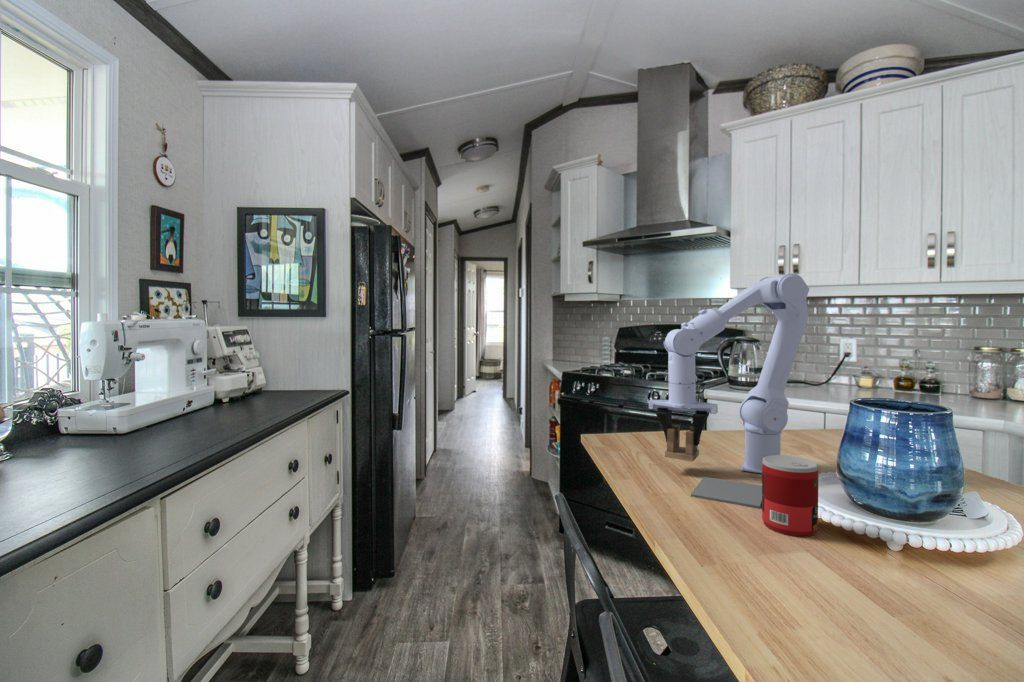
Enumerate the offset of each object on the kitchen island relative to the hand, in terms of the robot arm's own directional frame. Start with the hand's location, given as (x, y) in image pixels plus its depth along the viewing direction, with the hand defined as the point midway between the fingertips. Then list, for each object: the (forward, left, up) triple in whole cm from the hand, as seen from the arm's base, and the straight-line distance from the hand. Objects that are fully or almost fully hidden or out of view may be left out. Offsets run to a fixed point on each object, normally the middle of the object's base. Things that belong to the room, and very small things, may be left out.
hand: (682, 442), depth 107 cm
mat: (+8, +11, -7) cm, 15 cm away
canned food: (+20, +22, -7) cm, 30 cm away
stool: (0, 0, -3) cm, 3 cm away
